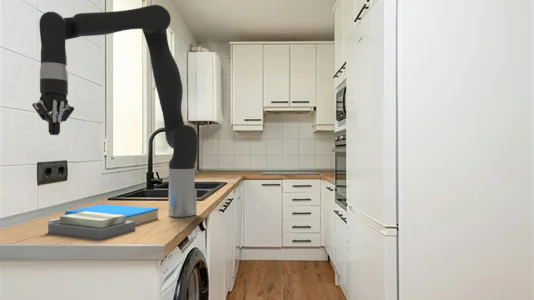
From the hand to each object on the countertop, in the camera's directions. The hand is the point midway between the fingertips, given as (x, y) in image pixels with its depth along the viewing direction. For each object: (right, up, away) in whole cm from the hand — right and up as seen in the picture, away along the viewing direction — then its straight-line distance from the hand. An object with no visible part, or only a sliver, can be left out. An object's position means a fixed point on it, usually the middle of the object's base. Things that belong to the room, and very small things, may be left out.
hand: (54, 134), depth 111 cm
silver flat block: (+15, -26, -6) cm, 31 cm away
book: (+14, -29, +11) cm, 34 cm away
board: (+15, -29, -6) cm, 33 cm away
